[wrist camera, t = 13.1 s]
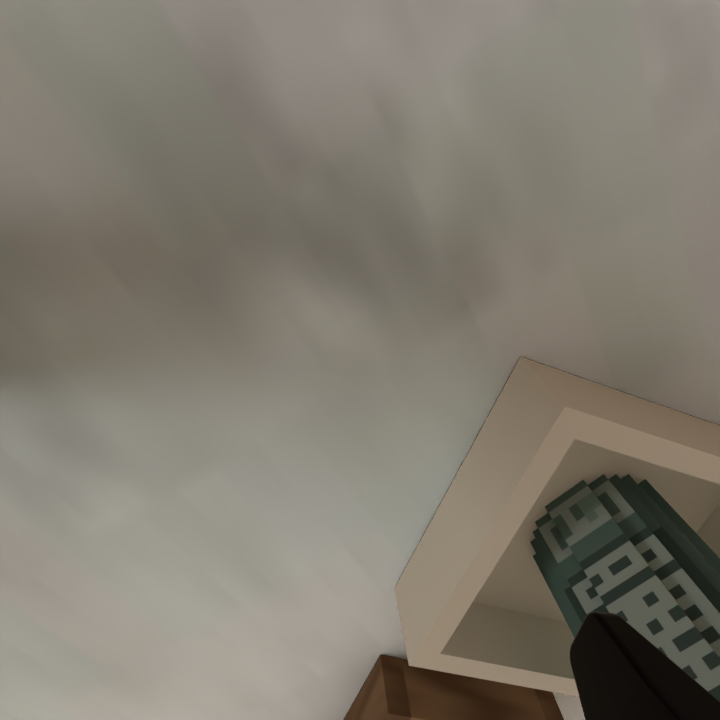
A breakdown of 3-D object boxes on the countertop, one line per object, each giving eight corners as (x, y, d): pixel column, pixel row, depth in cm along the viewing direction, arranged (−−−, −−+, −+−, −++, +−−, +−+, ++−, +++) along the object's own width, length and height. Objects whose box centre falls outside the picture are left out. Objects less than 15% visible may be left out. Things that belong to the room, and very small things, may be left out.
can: (577, 599, 26) (874, 1127, 12) (507, 532, 24) (775, 1086, 10) (686, 528, 25) (1152, 1033, 11) (622, 451, 22) (1106, 963, 9)
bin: (394, 588, 26) (408, 665, 22) (520, 356, 21) (565, 406, 17) (614, 636, 29) (658, 711, 25) (767, 442, 24) (849, 500, 20)
